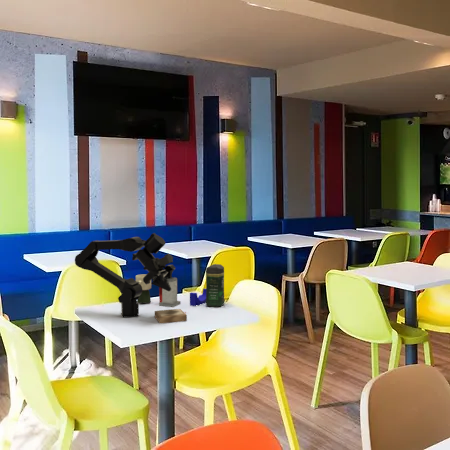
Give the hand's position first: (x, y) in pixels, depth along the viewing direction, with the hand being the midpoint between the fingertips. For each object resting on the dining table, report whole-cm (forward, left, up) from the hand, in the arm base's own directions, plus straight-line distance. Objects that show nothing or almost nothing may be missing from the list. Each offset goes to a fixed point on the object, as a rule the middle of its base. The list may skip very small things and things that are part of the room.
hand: (172, 289), depth 221 cm
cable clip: (+18, +25, -13) cm, 33 cm away
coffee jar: (+24, +19, -13) cm, 33 cm away
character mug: (-6, +35, -13) cm, 38 cm away
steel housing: (-1, +1, -7) cm, 7 cm away
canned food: (+4, +29, -13) cm, 32 cm away
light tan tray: (-1, +1, -12) cm, 12 cm away
